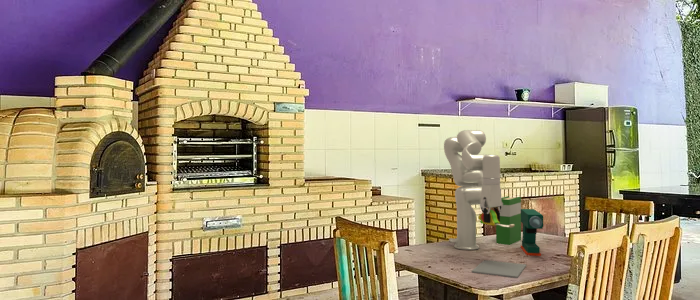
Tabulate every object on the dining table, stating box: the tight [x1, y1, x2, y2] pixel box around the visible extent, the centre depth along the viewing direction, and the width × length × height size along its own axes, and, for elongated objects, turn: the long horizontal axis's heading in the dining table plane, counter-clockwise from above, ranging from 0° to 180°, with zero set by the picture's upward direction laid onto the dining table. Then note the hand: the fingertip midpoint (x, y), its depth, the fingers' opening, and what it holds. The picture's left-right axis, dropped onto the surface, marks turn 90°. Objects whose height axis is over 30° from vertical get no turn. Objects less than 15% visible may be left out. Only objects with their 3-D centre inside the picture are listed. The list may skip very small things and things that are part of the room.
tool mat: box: [471, 259, 527, 279], centre depth 199 cm, size 18×22×1 cm
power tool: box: [520, 208, 544, 257], centre depth 226 cm, size 32×7×20 cm, turn 168°
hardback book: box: [495, 195, 522, 246], centre depth 258 cm, size 18×7×24 cm, turn 141°
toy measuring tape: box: [477, 209, 515, 228], centre depth 210 cm, size 6×20×7 cm, turn 31°
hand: (491, 221), depth 212 cm, fingers closed on toy measuring tape, 6 cm apart
